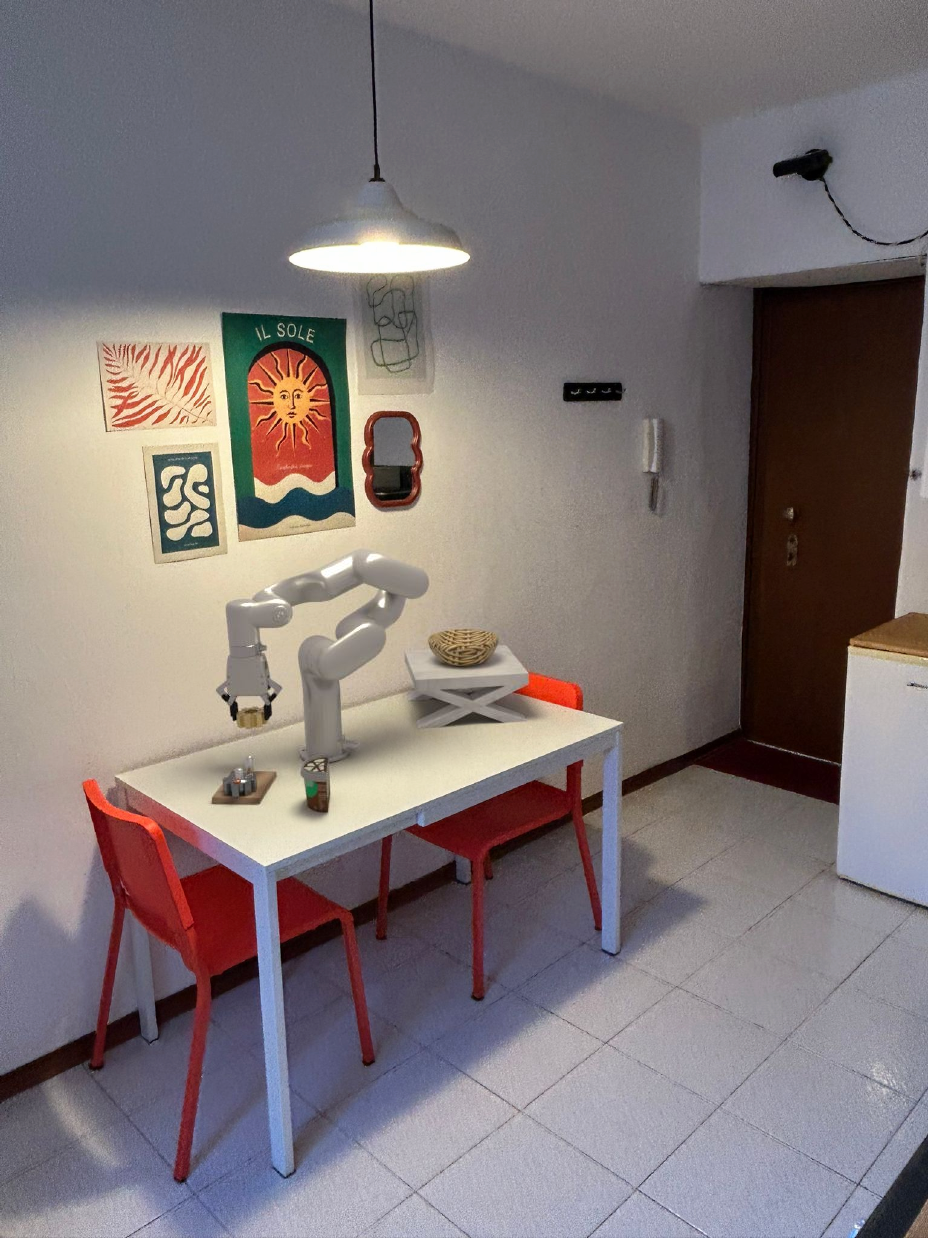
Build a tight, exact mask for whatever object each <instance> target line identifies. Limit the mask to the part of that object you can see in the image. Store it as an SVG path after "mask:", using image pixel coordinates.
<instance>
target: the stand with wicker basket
mask: <svg viewBox="0 0 928 1238" xmlns="http://www.w3.org/2000/svg"><path fill="white" fill-rule="evenodd" d="M427 642H428V646H429V648H428V649H413V650H412V649H411V650H410V649H409V650H404V651H403V652H404V662H405V665H406V668H407V671H408V674H409V676H410V680H411V682H412V684H413V687H414V691H412V692H410V693H408V694H406V696H407V699H408V701H409V702H411V701H412V702H415V701H427V700H428V701H429V700H432V699H437V700H439V701H440V700H441V701H442V702H446V703H449V704H448V705H446V706H444V707H442V708H440V709H438V710H436V711H435V712H433V713H432V712H431V713H430V714H428V715H425V716H424V717H422V718H420V719H418V720H416V721H415V722H416V724H417V728H418V729H431V728H432V729H434V728H443V727H444V726H446V725H448V724H450V723H452V722H455V721H457V720H459V719H461V718H464V717H465V716H466V715H470V714H471V713H476V714H479V715H482V716H485V717H488V718H490V719H493V720H495V721H499V722H502V723H504V724H508V723H509V724H510V723H519V722H520V723H521V722H528V720H527V719H526V717H525V715H524V714H522V713H520V712H518V711H515V710H512V709H508V708H506V707H504V706H501V705H497V704H495V703H494V702H495V701H497V700H499V699H501V698H504V697H506V696H507V695H508V694H509V695H510V694H511V693H513V692H515V691H517V690H519V689H522V688H524V687H526V686H528V685H529V684H530V681H529V679H530V678H529V677H530V674H529V672H528V671H527V669H526V668H525V667H524V665H522V663H521V662H520V660H518V658H517V657H516V656H515V655H514V653H513V652H512V650H511V649H510V648H509V647H508V646H507V645H506V644H503V645H498V644H499V637H498V635H497V634H495V633H493V632H491V631H487V630H481V629H469V628H468V629H466V628H465V629H450V630H443V631H440V632H436V633H434V634H431V635H430V636H429V637H428V639H427ZM459 689H468V690H471V691H474V692H473V693H471V694H467V693H465V692H462V691H459ZM509 695H508V696H509Z"/></svg>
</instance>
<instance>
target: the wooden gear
mask: <svg viewBox="0 0 928 1238" xmlns="http://www.w3.org/2000/svg"><path fill="white" fill-rule="evenodd" d="M236 718H237V720H236V725H237V728H239V729H243V728H244V729H245V730H252V729H254V728H257V729H259V728H262V727H263V725H267V724H268V723H269V720H268V721H265V719H264V708H263V707H259V706H251V707H243V708H241V710H238V711H237V712H236Z"/></svg>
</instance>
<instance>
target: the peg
mask: <svg viewBox="0 0 928 1238" xmlns="http://www.w3.org/2000/svg"><path fill="white" fill-rule="evenodd" d="M244 761H245V771H246V772H247V774H252V773H253V774H254V771H255V769H254V757H253V756H252V755H250V754H249V755H246V756H245V758H244Z"/></svg>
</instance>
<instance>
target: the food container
mask: <svg viewBox="0 0 928 1238" xmlns="http://www.w3.org/2000/svg"><path fill="white" fill-rule="evenodd" d="M300 777H302V778H303V781H304V788H305V789H304V790H305V797H306V805H307V809H309V810H311V811H312V812H317V813H329V811H330V810H329V809H330V803H331V780H330V778H331V775H330V762H329V754H321V755H316V756H313V757H310V758H308V759H306V760H303V762H302V765H301V766H300Z"/></svg>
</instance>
